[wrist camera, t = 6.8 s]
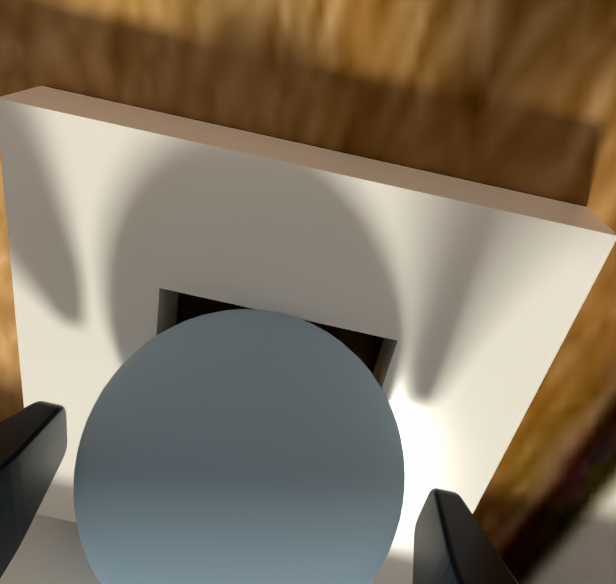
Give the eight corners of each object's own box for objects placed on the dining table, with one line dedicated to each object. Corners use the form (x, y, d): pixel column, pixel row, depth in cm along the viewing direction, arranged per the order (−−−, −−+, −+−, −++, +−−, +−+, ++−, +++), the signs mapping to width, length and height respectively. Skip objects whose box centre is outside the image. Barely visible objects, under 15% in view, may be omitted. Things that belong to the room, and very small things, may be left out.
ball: (430, 290, 10) (482, 540, 5) (362, 482, 12) (359, 761, 8) (154, 230, 9) (-30, 428, 5) (142, 434, 12) (11, 688, 8)
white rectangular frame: (588, 206, 9) (618, 235, 8) (423, 551, 13) (427, 599, 12) (40, 86, 9) (-5, 98, 8) (60, 471, 13) (33, 513, 12)
